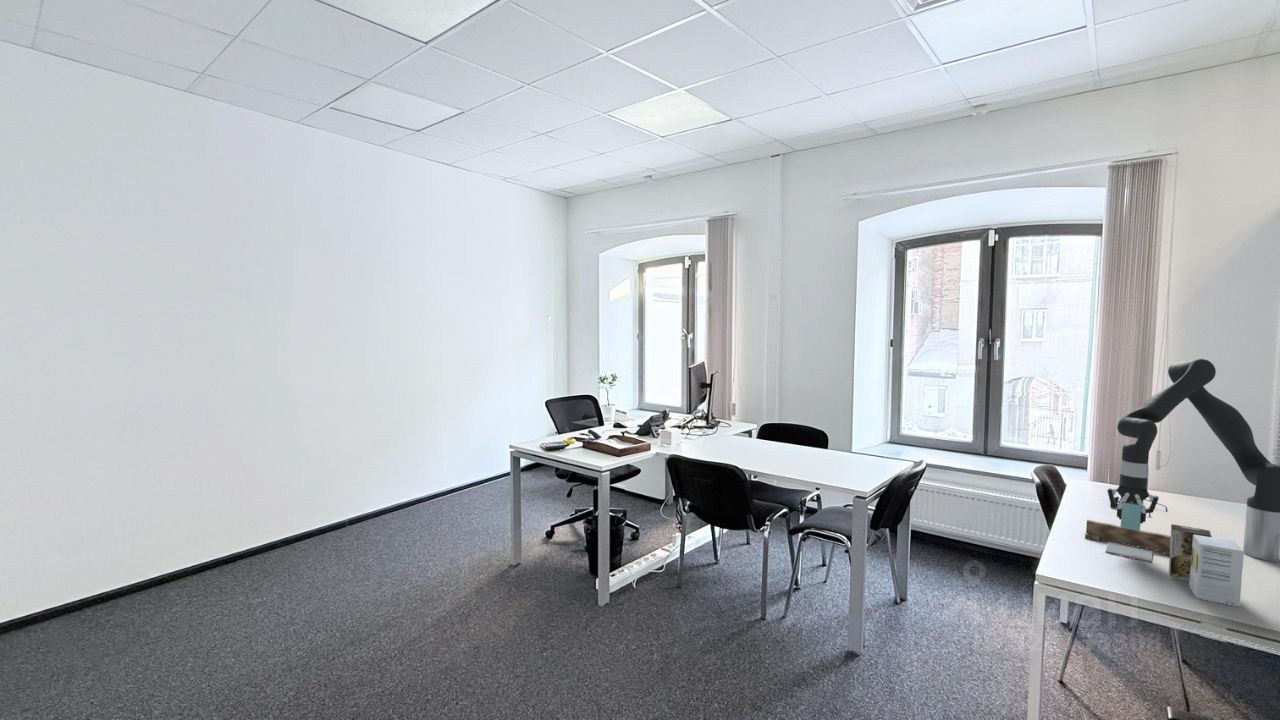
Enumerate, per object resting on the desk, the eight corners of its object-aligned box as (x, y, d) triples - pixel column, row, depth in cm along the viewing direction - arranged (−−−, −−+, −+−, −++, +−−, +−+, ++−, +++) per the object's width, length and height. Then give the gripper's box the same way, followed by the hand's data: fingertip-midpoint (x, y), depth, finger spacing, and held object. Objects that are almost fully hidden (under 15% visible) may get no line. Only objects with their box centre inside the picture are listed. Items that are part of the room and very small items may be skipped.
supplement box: (1188, 586, 172) (1191, 533, 171) (1230, 594, 166) (1234, 540, 165) (1195, 598, 164) (1199, 543, 163) (1240, 608, 159) (1245, 550, 158)
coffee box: (1207, 579, 177) (1210, 530, 176) (1209, 586, 172) (1212, 535, 171) (1167, 570, 183) (1171, 523, 182) (1168, 577, 178) (1172, 528, 177)
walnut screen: (1180, 551, 198) (1181, 535, 198) (1180, 558, 192) (1181, 541, 192) (1087, 532, 216) (1088, 517, 216) (1084, 538, 211) (1085, 522, 210)
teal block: (1140, 527, 197) (1141, 502, 196) (1139, 531, 193) (1141, 505, 193) (1121, 523, 200) (1123, 499, 200) (1120, 527, 197) (1122, 502, 196)
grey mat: (1152, 552, 197) (1152, 551, 197) (1151, 562, 189) (1151, 561, 189) (1108, 543, 206) (1108, 541, 206) (1105, 552, 197) (1105, 550, 197)
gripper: (1162, 476, 193) (1158, 523, 194) (1108, 468, 203) (1105, 513, 204) (1161, 480, 188) (1157, 528, 189) (1106, 472, 198) (1103, 518, 199)
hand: (1130, 520), depth 197 cm, fingers closed on teal block, 5 cm apart
